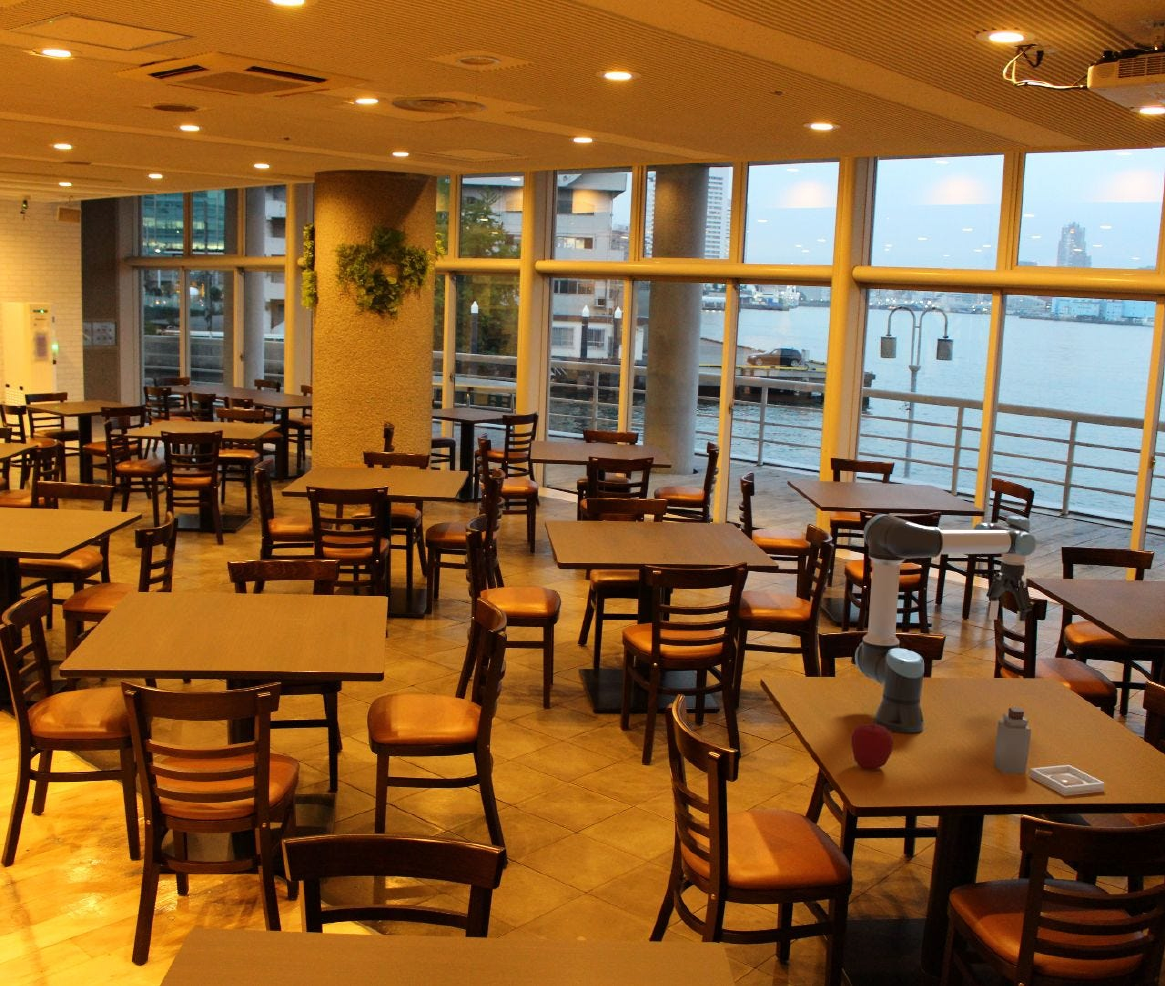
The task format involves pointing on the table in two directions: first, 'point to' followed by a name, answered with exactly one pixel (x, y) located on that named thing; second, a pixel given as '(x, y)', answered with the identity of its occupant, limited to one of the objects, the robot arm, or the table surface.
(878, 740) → the apple
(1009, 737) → the perfume bottle
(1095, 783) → the tray
